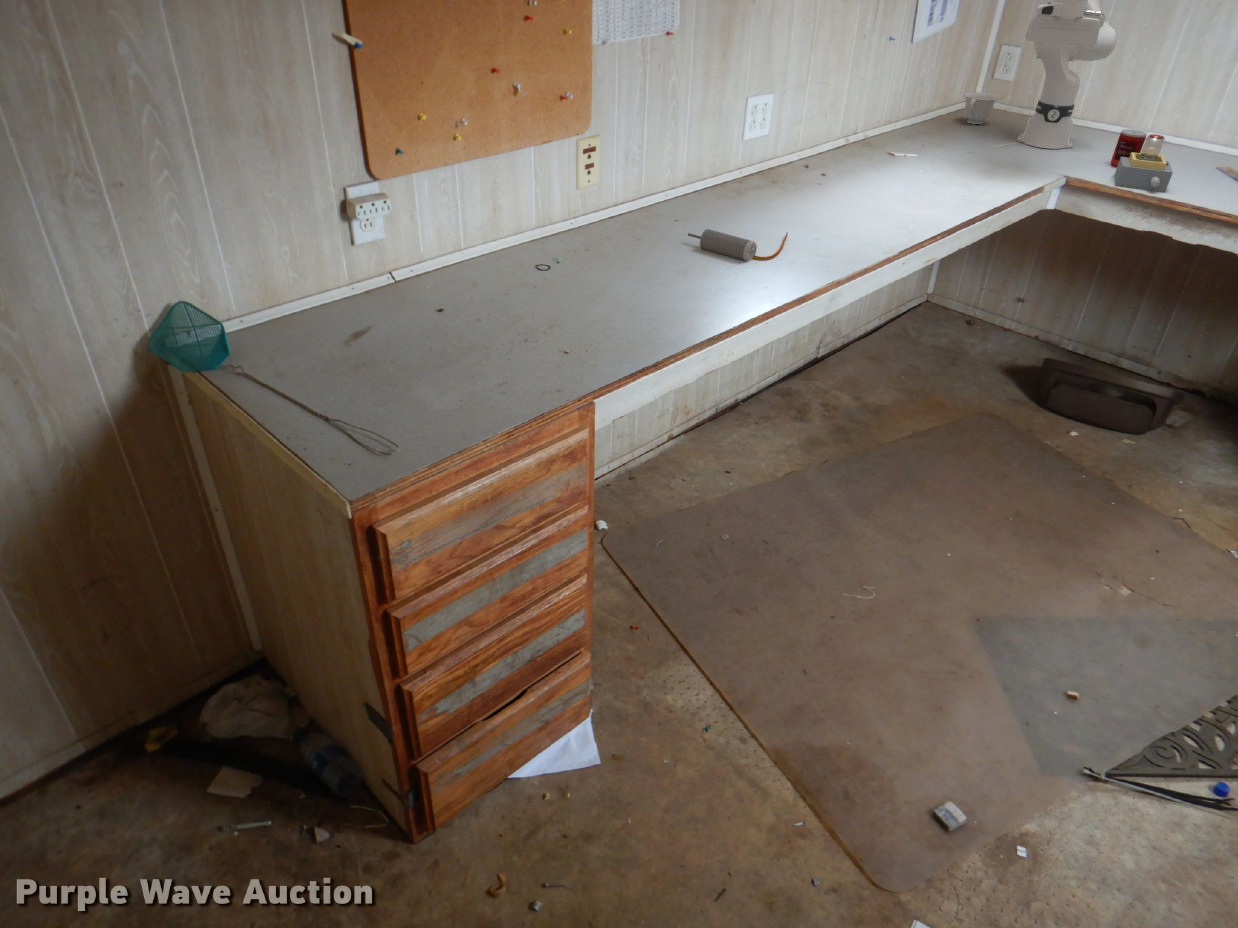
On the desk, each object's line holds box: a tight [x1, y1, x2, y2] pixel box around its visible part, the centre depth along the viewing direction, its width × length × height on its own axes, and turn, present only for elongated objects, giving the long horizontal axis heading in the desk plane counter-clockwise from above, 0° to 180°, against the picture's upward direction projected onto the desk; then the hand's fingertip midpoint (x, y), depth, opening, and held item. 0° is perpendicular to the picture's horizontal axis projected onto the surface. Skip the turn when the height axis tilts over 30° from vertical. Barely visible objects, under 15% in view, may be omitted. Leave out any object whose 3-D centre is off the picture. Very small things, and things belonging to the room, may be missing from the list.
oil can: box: [1139, 133, 1166, 162], centre depth 266 cm, size 5×5×8 cm
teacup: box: [964, 92, 999, 125], centre depth 329 cm, size 12×15×10 cm
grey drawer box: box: [1113, 152, 1174, 193], centre depth 269 cm, size 15×14×8 cm
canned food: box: [1110, 128, 1148, 169], centre depth 286 cm, size 8×8×11 cm
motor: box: [687, 228, 789, 262], centre depth 219 cm, size 23×22×5 cm
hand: (1054, 59), depth 264 cm, fingers open, 8 cm apart
